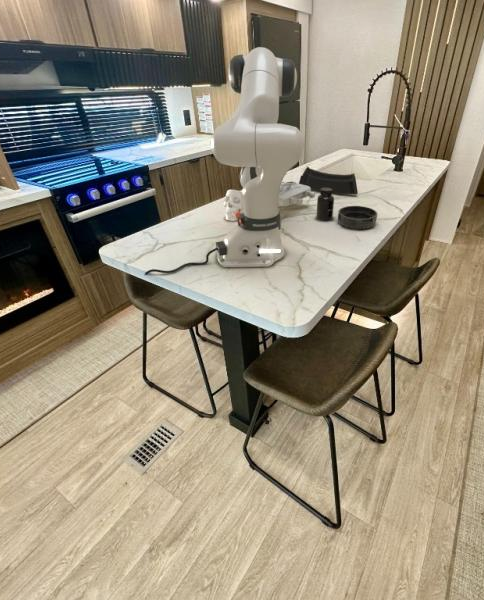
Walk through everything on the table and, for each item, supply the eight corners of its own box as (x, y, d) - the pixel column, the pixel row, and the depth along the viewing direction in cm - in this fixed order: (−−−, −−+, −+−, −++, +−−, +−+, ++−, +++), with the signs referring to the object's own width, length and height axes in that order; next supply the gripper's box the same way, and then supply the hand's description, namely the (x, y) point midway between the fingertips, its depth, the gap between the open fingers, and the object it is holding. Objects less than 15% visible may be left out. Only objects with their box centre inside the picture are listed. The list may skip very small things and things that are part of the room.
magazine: (364, 177, 154) (309, 152, 159) (363, 178, 151) (307, 153, 156) (351, 209, 165) (299, 185, 170) (349, 211, 162) (297, 186, 167)
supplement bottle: (331, 221, 132) (334, 192, 125) (315, 220, 133) (316, 191, 126) (333, 215, 138) (335, 187, 131) (317, 214, 139) (318, 186, 132)
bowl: (345, 232, 124) (346, 221, 121) (332, 217, 136) (333, 207, 133) (382, 228, 126) (384, 217, 124) (366, 214, 138) (367, 204, 136)
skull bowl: (214, 217, 133) (220, 187, 132) (232, 224, 146) (237, 197, 145) (236, 220, 129) (242, 190, 128) (252, 227, 142) (258, 200, 141)
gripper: (266, 191, 134) (293, 197, 127) (295, 180, 147) (321, 185, 141) (267, 206, 138) (293, 213, 131) (295, 194, 151) (320, 200, 144)
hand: (308, 198), depth 136 cm, fingers open, 8 cm apart
